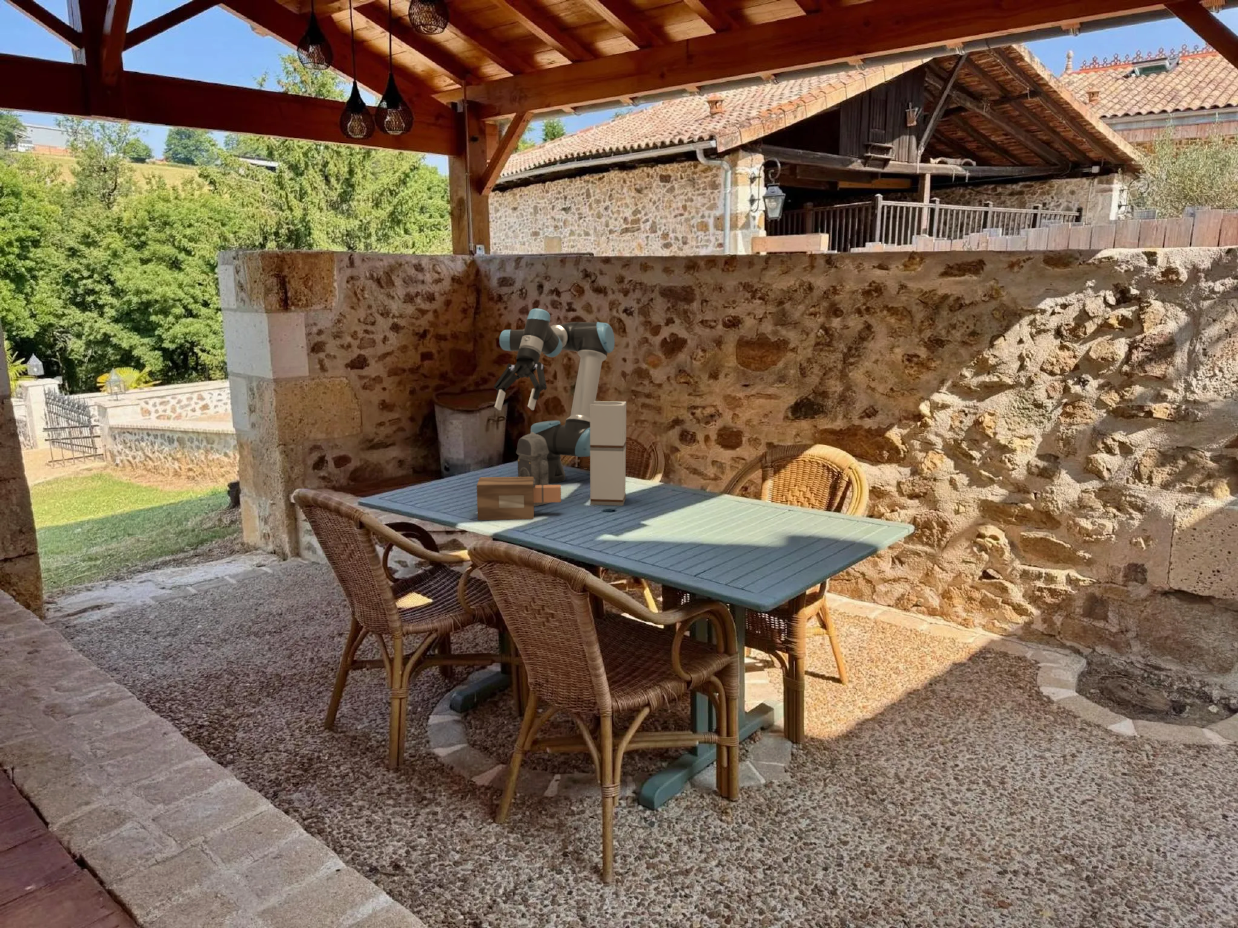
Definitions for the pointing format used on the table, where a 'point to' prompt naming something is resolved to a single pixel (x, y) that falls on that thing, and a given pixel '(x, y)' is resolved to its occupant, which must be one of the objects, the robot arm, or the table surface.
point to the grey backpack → (533, 459)
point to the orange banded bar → (547, 493)
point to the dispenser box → (505, 498)
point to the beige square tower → (607, 453)
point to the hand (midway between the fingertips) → (513, 408)
